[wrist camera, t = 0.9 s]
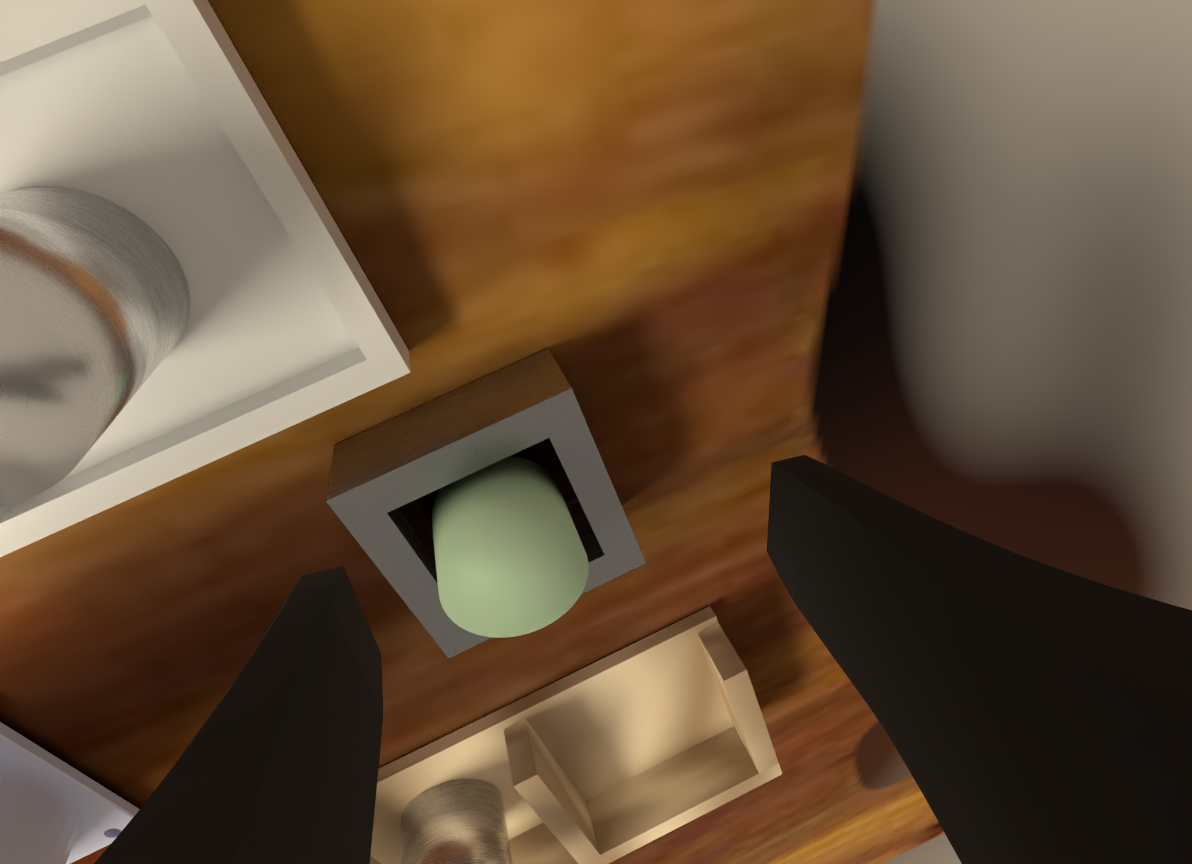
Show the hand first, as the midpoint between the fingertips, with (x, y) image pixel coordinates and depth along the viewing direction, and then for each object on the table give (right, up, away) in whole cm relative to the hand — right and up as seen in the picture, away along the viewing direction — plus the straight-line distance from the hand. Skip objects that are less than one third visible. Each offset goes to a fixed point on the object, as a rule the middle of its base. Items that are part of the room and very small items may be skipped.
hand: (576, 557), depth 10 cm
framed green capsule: (-3, +1, +10) cm, 11 cm away
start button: (-3, 0, +9) cm, 9 cm away
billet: (-12, +6, +4) cm, 14 cm away
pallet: (-2, -13, +18) cm, 22 cm away
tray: (-12, +6, +5) cm, 14 cm away
